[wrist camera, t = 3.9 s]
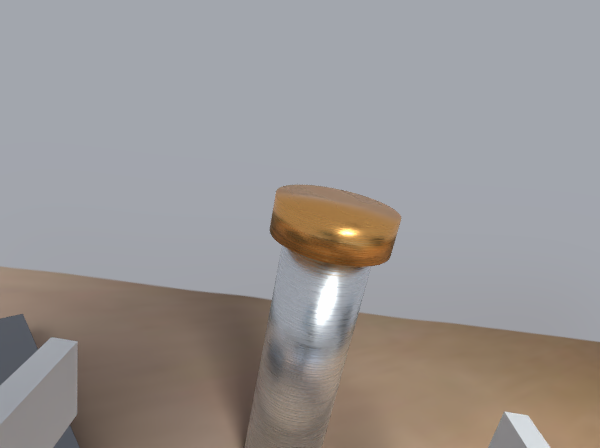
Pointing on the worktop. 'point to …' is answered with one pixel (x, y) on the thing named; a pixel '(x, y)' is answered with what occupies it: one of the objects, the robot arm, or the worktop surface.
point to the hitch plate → (22, 359)
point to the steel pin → (314, 308)
